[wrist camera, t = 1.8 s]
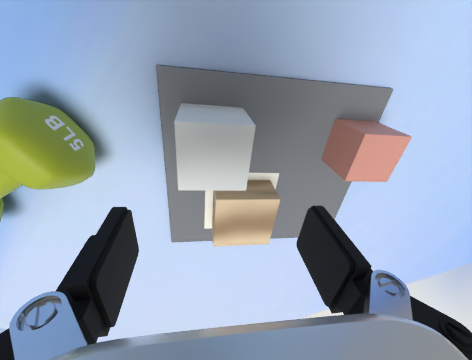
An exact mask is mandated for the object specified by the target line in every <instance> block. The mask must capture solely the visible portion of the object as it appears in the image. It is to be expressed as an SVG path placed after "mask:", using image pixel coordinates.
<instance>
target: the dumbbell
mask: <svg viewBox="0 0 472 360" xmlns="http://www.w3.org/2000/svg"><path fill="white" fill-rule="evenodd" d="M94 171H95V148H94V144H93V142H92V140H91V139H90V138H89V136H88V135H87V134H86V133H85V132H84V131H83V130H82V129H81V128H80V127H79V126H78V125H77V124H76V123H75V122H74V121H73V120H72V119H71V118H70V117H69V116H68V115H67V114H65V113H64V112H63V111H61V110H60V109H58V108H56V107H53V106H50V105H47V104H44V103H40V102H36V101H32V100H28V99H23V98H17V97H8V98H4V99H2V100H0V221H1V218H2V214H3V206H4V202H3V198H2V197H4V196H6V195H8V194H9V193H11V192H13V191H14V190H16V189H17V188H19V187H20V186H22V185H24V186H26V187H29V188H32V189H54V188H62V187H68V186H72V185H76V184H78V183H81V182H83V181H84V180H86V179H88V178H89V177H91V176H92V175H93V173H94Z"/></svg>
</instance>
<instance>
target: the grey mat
mask: <svg viewBox="0 0 472 360" xmlns="http://www.w3.org/2000/svg"><path fill="white" fill-rule="evenodd" d="M156 70H157V81H158V92H159V104H160V115H161V127H162V138H163V149H164V161H165V172H166V183H167V195H168V206H169V217H170V229H171V240H172V242H191V241H213V234H212V210H213V190H178V178H177V160H176V142H175V124H174V121H175V118H176V116H177V113H178V110H179V108H180V105H181V103H187V104H201V105H215V106H229V107H243V109H244V110H245V111H246V113H247V114H248V116H249V117H250V118H251V120H252V121H253V123H254V124H255V125H256V127H255V134H254V141H253V148H252V154H251V161H250V168H249V174H248V180H270V181H271V183H272V184H273V186H274V188H275V190H276V192H277V194H278V196H279V198H280V203H279V207H278V210H277V214H276V218H275V222H274V226H273V230H272V234H271V237H270V238H294V237H299V234H300V231H301V228H302V225H303V222H304V219H305V216H306V213H307V210H308V209H309V208H310V207H311V206H324V207H325V209H326V210H327V211H328V212H329V214H330V215H331V216H332V217H333V219H335V217H336V215H337V212H338V210H339V208H340V206H341V204H342V201H343V199H344V197H345V195H346V193H347V190H348V188H349V186H350V184H351V182H352V181H344V180H343V179H342V178H341V177H340V176H339V175H338V174H337V173H335V172H334V171H333V170H332V169H331V168H330V167H329V166H328V165H327V164H326V163H325V162H323V161H322V160H321V159H322V156H323V153H324V150H325V148H326V145H327V142H328V139H329V136H330V133H331V130H332V127H333V124H334V121H335V119H346V120H361V121H375V122H379V120H380V118H381V115H382V113H383V111H384V109H385V107H386V104H387V102H388V100H389V98H390V96H391V93H392V91H393V89H392V88H383V87H373V86H363V85H353V84H343V83H333V82H323V81H313V80H303V79H292V78H282V77H272V76H262V75H252V74H242V73H232V72H222V71H212V70H202V69H192V68H182V67H172V66H162V65H156Z"/></svg>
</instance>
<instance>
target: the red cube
mask: <svg viewBox="0 0 472 360" xmlns="http://www.w3.org/2000/svg"><path fill="white" fill-rule="evenodd" d="M411 138H412V137H411V136H409V135H407V134H404V133H402V132H399V131H397V130H394V129H392V128H390V127H387V126H385V125H382V124H380V123H378V122H375V121H361V120H346V119H335V121H334V124H333V127H332V130H331V133H330V136H329V139H328V142H327V145H326V148H325V150H324V153H323V156H322V159H321V160H322V161H323V162H325V163H326V164H327V165H328V166H329V167H330V168H331V169H332V170H333V171H334V172H335V173H337V174H338V175H339V176H340V177H341V178H342V179H343V180H344V181H373V182H387V181H388V179H389V177H390V175H391V173H392V172H393V170H394V168H395V166H396V164H397V163H398V161H399V159H400V157H401V155H402V154H403V152H404V150H405V148H406V147H407V145H408V143H409V141H410V139H411Z"/></svg>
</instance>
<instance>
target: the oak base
mask: <svg viewBox="0 0 472 360" xmlns="http://www.w3.org/2000/svg"><path fill="white" fill-rule="evenodd" d="M279 203H280V198H279V196H278V194H277V192H276V190H275V188H274V186H273V184H272V183H271V181H270V180H248V181H247V188H246V191H213V210H212V234H213V246H231V245H254V244H269V241H270V237H271V234H272V230H273V226H274V222H275V218H276V214H277V210H278V207H279Z"/></svg>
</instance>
